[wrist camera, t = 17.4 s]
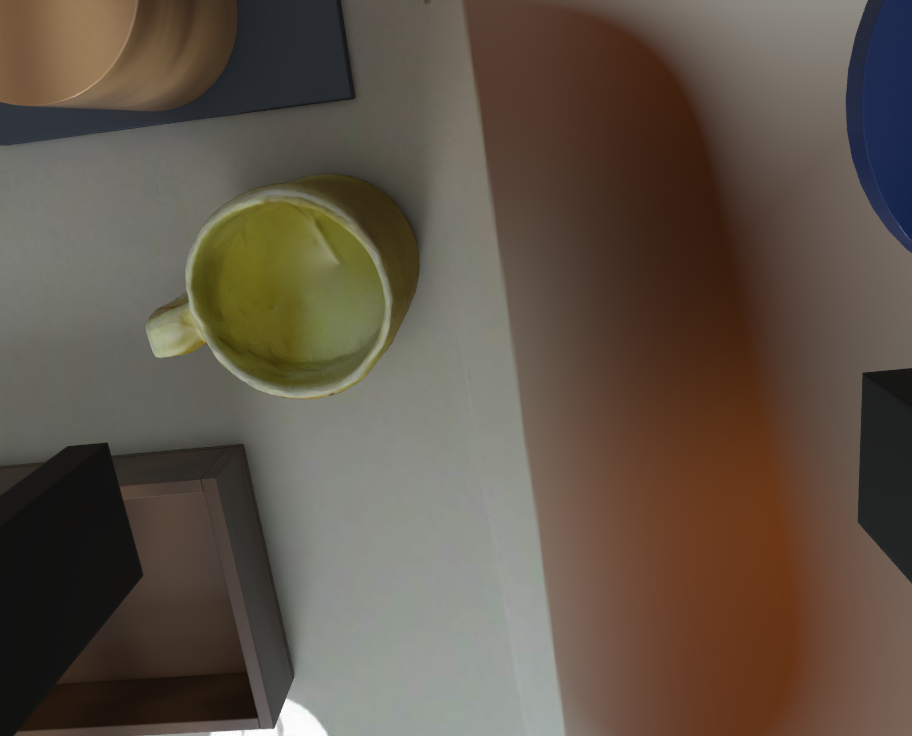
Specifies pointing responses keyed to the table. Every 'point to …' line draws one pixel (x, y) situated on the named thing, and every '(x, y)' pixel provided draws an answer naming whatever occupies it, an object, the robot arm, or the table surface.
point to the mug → (295, 286)
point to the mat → (227, 75)
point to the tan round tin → (113, 52)
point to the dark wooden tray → (180, 610)
